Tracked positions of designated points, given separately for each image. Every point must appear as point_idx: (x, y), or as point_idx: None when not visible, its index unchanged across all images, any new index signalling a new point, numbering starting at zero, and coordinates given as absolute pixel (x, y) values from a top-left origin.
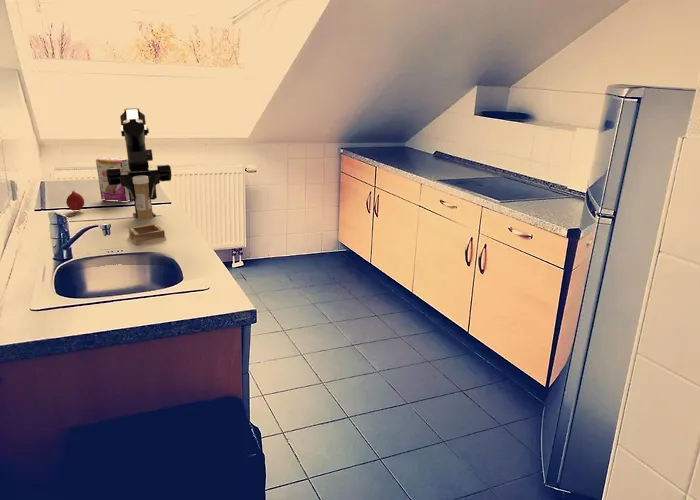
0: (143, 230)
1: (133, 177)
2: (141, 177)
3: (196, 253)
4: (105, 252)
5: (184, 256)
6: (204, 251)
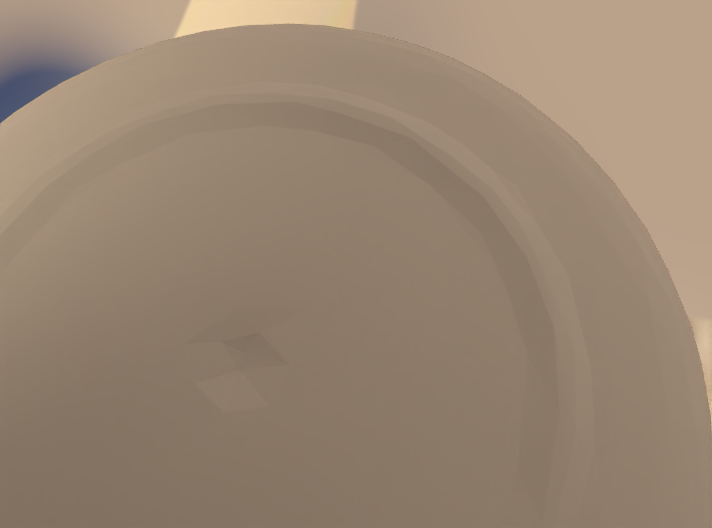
0: None
1: (677, 450)
2: (265, 152)
3: (247, 23)
4: (708, 322)
5: (317, 18)
6: (200, 26)
